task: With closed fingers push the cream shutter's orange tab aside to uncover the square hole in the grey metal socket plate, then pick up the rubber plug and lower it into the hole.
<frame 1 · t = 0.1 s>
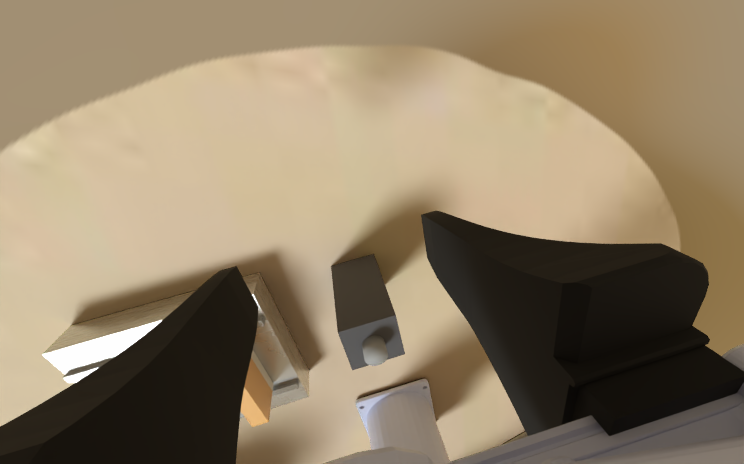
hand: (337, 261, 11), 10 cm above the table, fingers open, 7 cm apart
socket: (205, 351, 25), on the table
shutter: (214, 390, 21), point 4 cm above the table, slide at 0.0 cm
plug: (357, 277, 24), on the table
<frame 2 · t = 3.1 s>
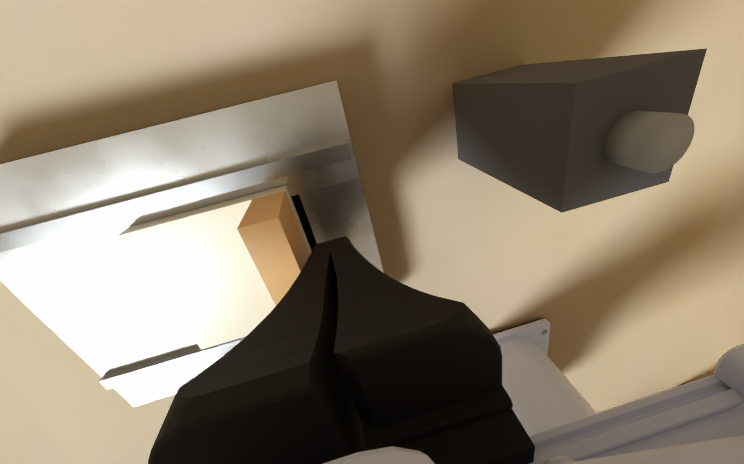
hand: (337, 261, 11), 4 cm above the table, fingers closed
socket: (230, 246, 15), on the table
shutter: (233, 291, 11), point 4 cm above the table, slide at 0.8 cm, touching gripper
plug: (490, 114, 14), on the table
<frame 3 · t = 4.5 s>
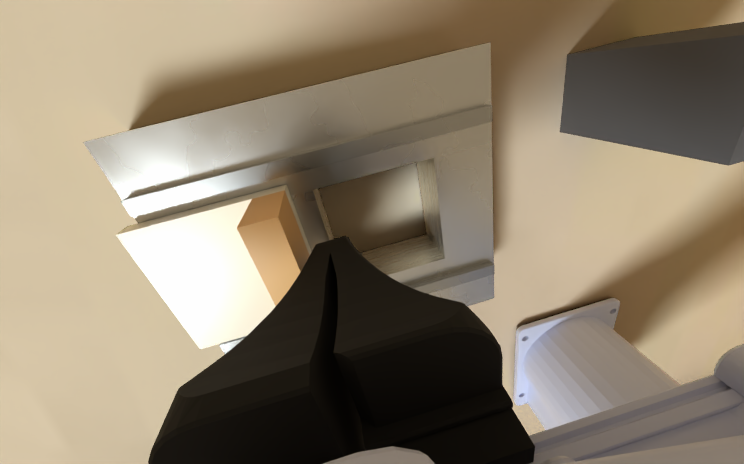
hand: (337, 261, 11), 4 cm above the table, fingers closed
socket: (337, 216, 15), on the table
shutter: (232, 291, 11), point 4 cm above the table, slide at 6.4 cm, touching gripper
plug: (596, 86, 14), on the table
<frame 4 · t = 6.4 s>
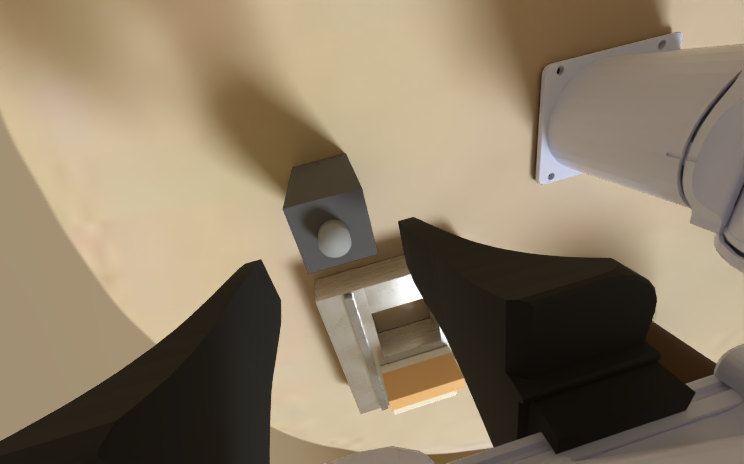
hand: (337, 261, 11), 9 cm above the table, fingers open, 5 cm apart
olive oil: (615, 346, 35), on the table
socket: (403, 321, 26), on the table
shutter: (424, 394, 25), point 4 cm above the table, slide at 6.4 cm
plug: (327, 185, 20), on the table
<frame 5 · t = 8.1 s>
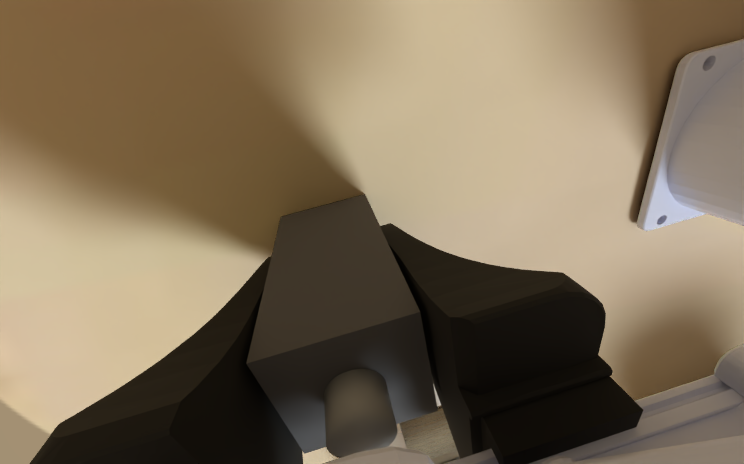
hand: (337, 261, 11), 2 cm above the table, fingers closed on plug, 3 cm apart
socket: (434, 405, 20), on the table
plug: (334, 241, 13), on the table, touching gripper
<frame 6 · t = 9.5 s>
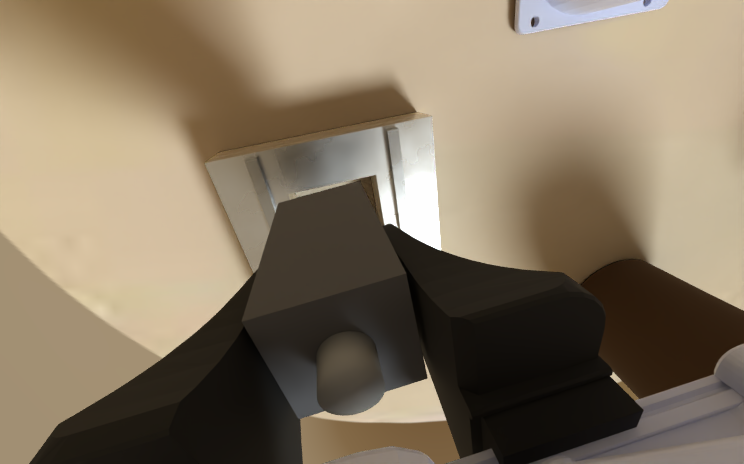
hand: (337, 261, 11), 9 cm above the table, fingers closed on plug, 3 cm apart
olive oil: (606, 297, 30), on the table
socket: (345, 232, 21), on the table
plug: (331, 228, 13), point 7 cm above the table, touching gripper
when the fingers open (3 cm above the table, at t = 11.3 s): plug drops 1 cm, resting in socket.
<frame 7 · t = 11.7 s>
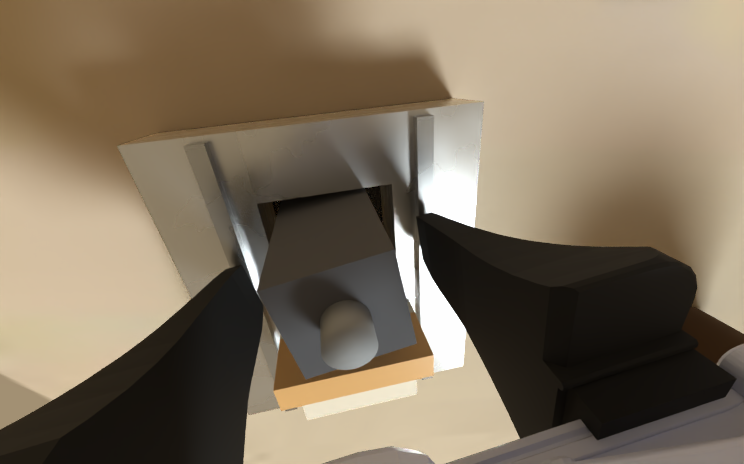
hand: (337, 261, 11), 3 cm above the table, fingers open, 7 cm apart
olive oil: (644, 346, 25), on the table
socket: (338, 258, 15), on the table
shutter: (359, 385, 14), point 4 cm above the table, slide at 6.4 cm
plug: (331, 217, 14), resting in socket
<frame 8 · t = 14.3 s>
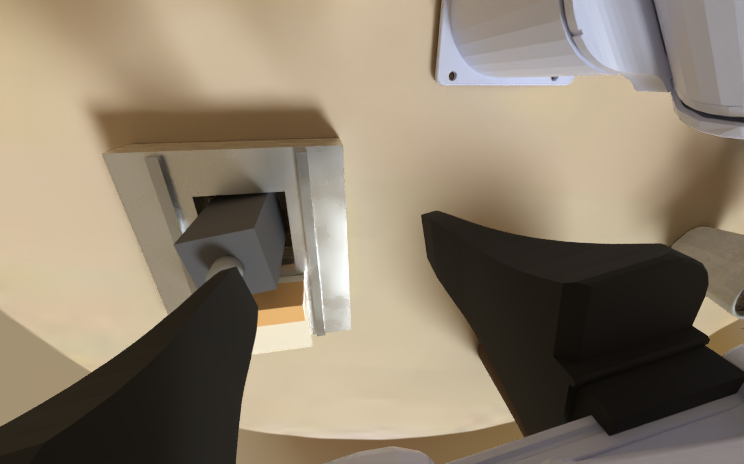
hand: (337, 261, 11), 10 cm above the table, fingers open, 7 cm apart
house plant: (675, 258, 30), on the table
olive oil: (517, 335, 31), on the table
socket: (260, 241, 21), on the table
shutter: (261, 330, 19), point 4 cm above the table, slide at 6.4 cm
plug: (254, 211, 20), resting in socket
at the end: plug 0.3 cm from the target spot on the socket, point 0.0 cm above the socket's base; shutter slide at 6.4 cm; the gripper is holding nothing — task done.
